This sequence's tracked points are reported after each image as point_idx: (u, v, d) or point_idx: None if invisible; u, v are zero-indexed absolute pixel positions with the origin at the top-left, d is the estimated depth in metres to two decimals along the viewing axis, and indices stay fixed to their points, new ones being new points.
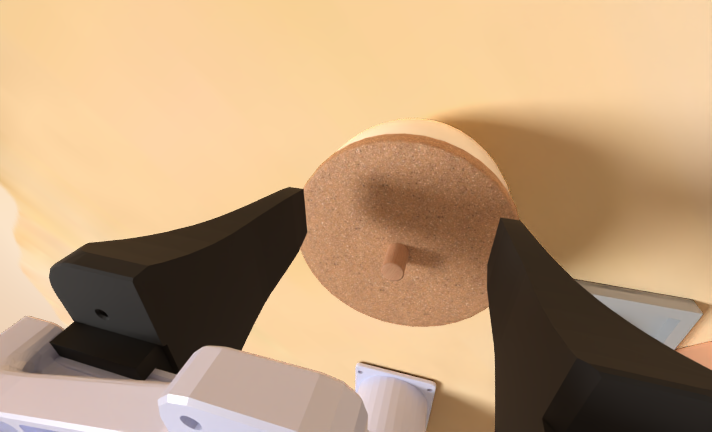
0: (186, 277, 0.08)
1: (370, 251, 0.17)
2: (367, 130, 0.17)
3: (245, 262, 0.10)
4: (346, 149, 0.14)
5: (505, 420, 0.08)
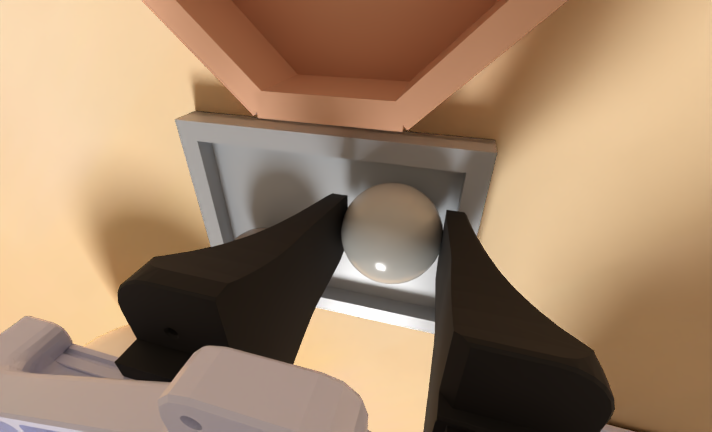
0: (257, 292, 0.07)
1: None
2: None
3: (300, 273, 0.10)
4: None
5: (429, 400, 0.08)
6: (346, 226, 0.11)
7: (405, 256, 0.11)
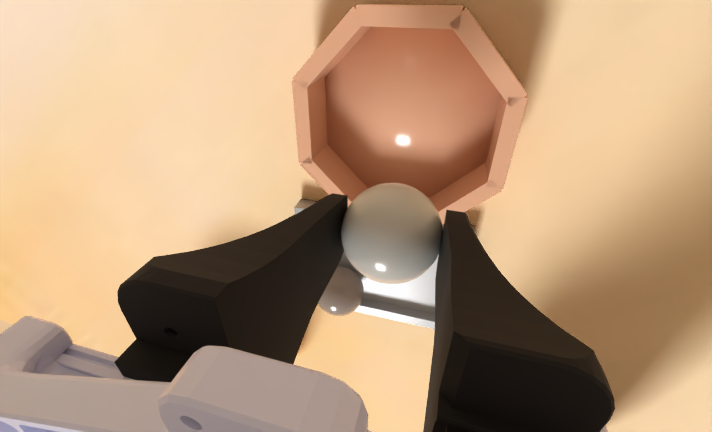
0: (256, 292, 0.07)
1: None
2: None
3: (300, 273, 0.10)
4: None
5: (429, 400, 0.08)
6: (347, 226, 0.11)
7: (406, 256, 0.11)
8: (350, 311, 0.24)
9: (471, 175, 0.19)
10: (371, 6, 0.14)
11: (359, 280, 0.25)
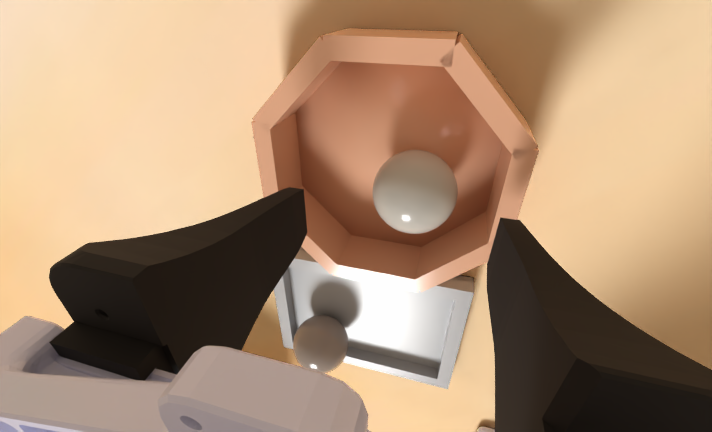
0: (186, 277, 0.08)
1: None
2: None
3: (245, 262, 0.10)
4: None
5: (505, 420, 0.08)
6: (384, 189, 0.14)
7: (439, 204, 0.13)
8: (333, 369, 0.21)
9: (469, 227, 0.16)
10: (341, 37, 0.12)
11: (343, 333, 0.22)
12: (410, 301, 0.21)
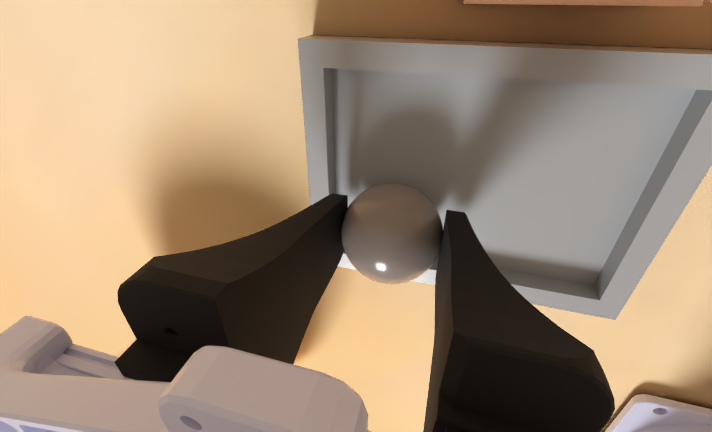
0: (256, 292, 0.07)
1: None
2: None
3: (300, 273, 0.10)
4: None
5: (429, 400, 0.08)
6: None
7: None
8: (419, 273, 0.11)
9: None
10: None
11: (435, 208, 0.12)
12: (577, 133, 0.11)
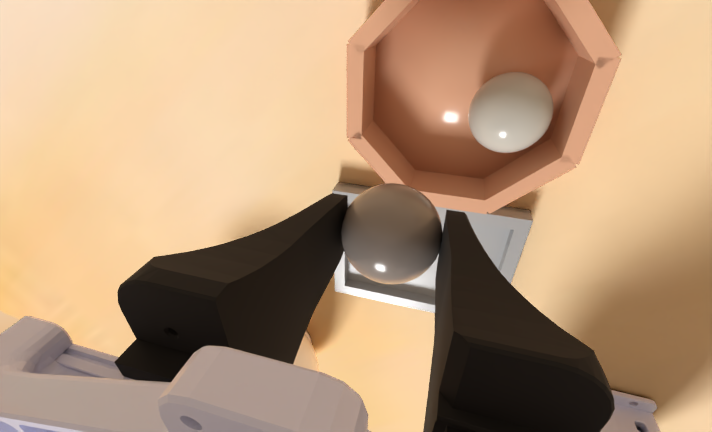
0: (256, 292, 0.07)
1: None
2: None
3: (300, 273, 0.10)
4: None
5: (429, 400, 0.08)
6: (504, 106, 0.14)
7: (551, 113, 0.15)
8: (419, 273, 0.11)
9: (535, 152, 0.18)
10: None
11: (435, 209, 0.12)
12: None
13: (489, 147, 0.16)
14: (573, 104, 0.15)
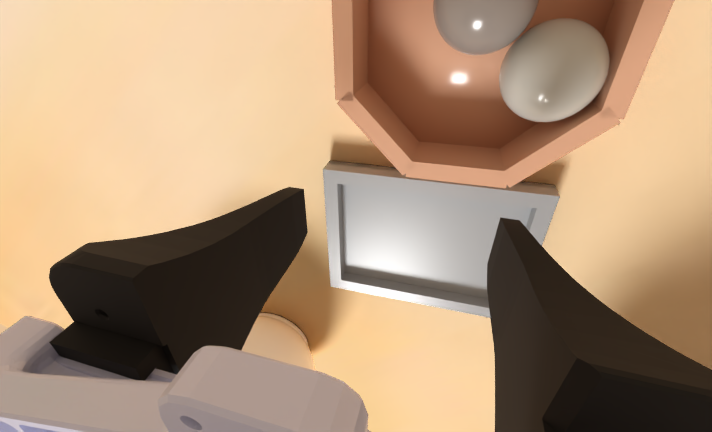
0: (186, 277, 0.08)
1: None
2: None
3: (245, 262, 0.10)
4: None
5: (505, 420, 0.08)
6: (570, 74, 0.11)
7: None
8: None
9: None
10: None
11: None
12: (479, 219, 0.19)
13: (533, 119, 0.13)
14: (616, 42, 0.12)
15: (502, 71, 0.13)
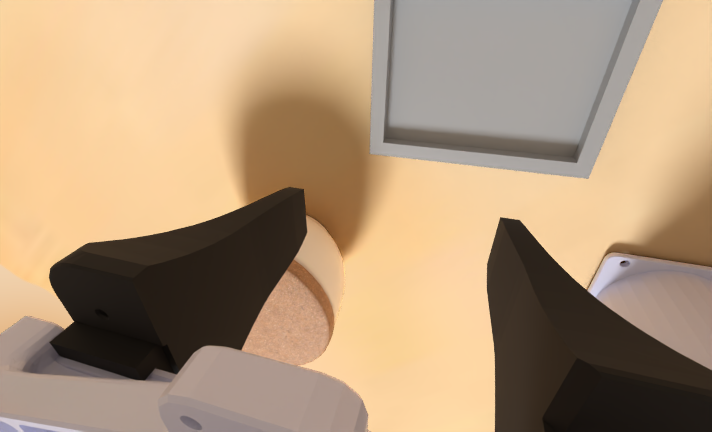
0: (186, 277, 0.08)
1: (256, 330, 0.22)
2: None
3: (245, 262, 0.10)
4: None
5: (505, 420, 0.08)
6: None
7: None
8: None
9: None
10: None
11: None
12: (559, 36, 0.16)
13: None
14: None
15: None
